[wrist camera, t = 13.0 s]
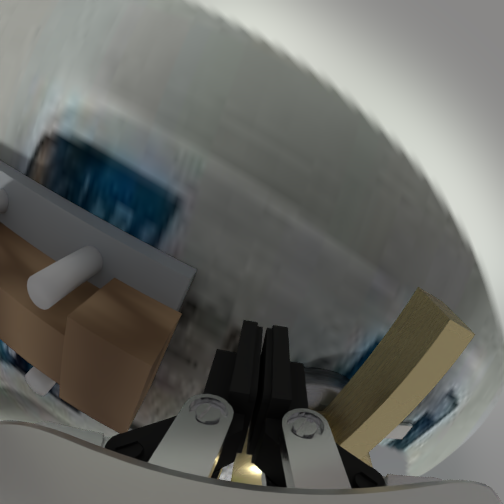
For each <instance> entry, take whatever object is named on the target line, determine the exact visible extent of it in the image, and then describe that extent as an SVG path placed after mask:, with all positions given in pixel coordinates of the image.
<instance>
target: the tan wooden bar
mask: <svg viewBox="0 0 504 504" xmlns="http://www.w3.org/2000/svg"><path fill="white" fill-rule="evenodd" d="M55 262H56V261H55V260H53V259H52V258H50V257H49V256H47V255H46V254H44V253H43V252H41V251H40V250H39V249H37V248H36V247H34V246H33V245H31V244H30V243H29V242H27V241H26V240H24V239H23V238H22V237H20V236H19V235H17V234H16V233H15V232H13V231H12V230H11V229H9V228H8V227H7V226H5V225H4V224H3V223H1V222H0V339H1V340H2V341H3V342H4V343H6V344H7V345H8V346H9V347H10V348H11V349H13V350H14V351H15V352H16V353H18V354H19V355H20V356H21V357H23V358H24V359H25V360H26V361H28V362H29V363H30V364H31V365H33V366H34V367H35V368H37V369H38V370H39V371H41V372H42V373H44V374H45V375H46V376H48V377H49V378H51V379H52V380H53V381H55V382H56V383H58V384H59V385H60V391H59V397H60V398H61V399H63V400H64V401H66V402H67V403H69V404H70V405H72V406H73V407H75V408H77V409H78V410H80V411H81V412H83V413H85V414H86V415H88V416H90V417H91V418H93V419H95V420H97V421H98V422H100V423H102V424H104V425H105V426H107V427H109V428H111V429H113V430H115V431H116V432H118V433H120V434H121V433H124V432H128V430H129V428H130V426H131V424H132V422H133V420H134V418H135V416H136V414H137V412H138V410H139V408H140V406H141V404H142V402H143V400H144V398H145V396H146V394H147V392H148V390H149V389H150V387H151V385H152V382H153V380H154V377H155V375H156V373H157V370H158V368H159V366H160V363H161V361H162V358H163V356H164V354H165V351H166V349H167V347H168V344H169V342H170V340H171V338H172V335H173V333H174V331H175V328H176V326H177V324H178V322H179V319H180V317H181V315H182V313H180V312H178V311H176V310H174V309H172V308H170V307H168V306H166V305H164V304H162V303H160V302H158V301H157V300H155V299H153V298H151V297H149V296H147V295H145V294H143V293H142V292H140V291H138V290H136V289H134V288H132V287H131V286H129V285H127V284H125V283H123V282H122V281H120V280H118V279H116V278H115V277H114V278H113V279H112V280H111V281H109V282H108V283H107V284H106V285H104V286H103V287H102V288H101V289H100V288H98V287H96V286H95V285H93V284H91V283H90V282H88V281H85V282H84V283H83V284H81V285H80V286H78V287H77V288H76V289H74V290H73V291H72V292H70V293H69V294H68V295H66V296H65V297H63V298H62V299H61V300H59V301H58V302H57V303H55V304H54V305H53V306H51V307H50V308H49V309H46V310H44V309H41V308H39V307H37V306H36V305H35V304H34V303H33V301H32V300H31V298H30V296H29V294H28V290H27V281H28V279H29V277H30V276H32V275H33V274H35V273H37V272H39V271H40V270H42V269H44V268H46V267H48V266H49V265H51V264H53V263H55Z"/></svg>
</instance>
